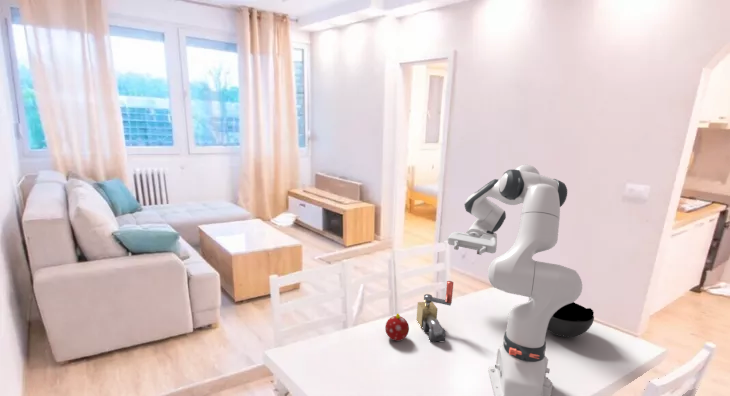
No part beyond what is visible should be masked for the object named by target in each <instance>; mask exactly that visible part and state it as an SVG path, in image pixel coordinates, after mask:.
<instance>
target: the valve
mask: <svg viewBox="0 0 730 396" xmlns="http://www.w3.org/2000/svg"><path fill="white" fill-rule="evenodd" d="M416 309H417V310H416V320H417V321H418V322H417V321H416V322H417V324H418V323H419V324H420V326H421V327H420V326H419V327H420V329H421V328H422V327H423V328H422V329H423V330H424V331H423V330H422V331H423V333H424V332H429V333H428V337H427V338H429V339H428V341H429V340H430V341H429V343H431V342H432V343H437V342H436V341H445V342H446V338H447V337H446V336H447V331H446V330H445V328H444V327H443V326H442V325H441V324H440V322H439V320H438V319H437V317H438V308H437V306H436V305H435V304H434V302H430V303H427V302H425V301H419V302H417V308H416ZM419 324H418V325H419Z"/></svg>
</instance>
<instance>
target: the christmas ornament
mask: <svg viewBox="0 0 730 396" xmlns="http://www.w3.org/2000/svg"><path fill="white" fill-rule="evenodd" d="M384 329H385V332H386V334H387V335H386V336H387V337H388V338H389V339H391V340H393V341H397V342H399V341H403V340H404V339H406V337H407V336H408V335H409V332H410V326H409V323H408V321H407V320H406V319H405V318H404V317H403V316H400V314H399V313H396V315H394V316H391V317H390V318H389V319H387V321H386V323H385V328H384Z"/></svg>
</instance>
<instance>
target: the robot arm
mask: <svg viewBox="0 0 730 396" xmlns="http://www.w3.org/2000/svg"><path fill="white" fill-rule="evenodd" d="M488 197H490V198H493V199H494V200H497V201H499V202H501V203H503V204H506V205H509V206H516V205H520V204H522V207H521V208H522V209H521V214H520V221H519V226H518V231H517V235H516V238H515V241H514V242H513V244H512V245H511V247H510V248H509V249H508V250H507V251H505V253H503V254H500V255H499V256H497V257H495V258H494V259H492V261H491V262H490V264H489V266H488V269H487V277H488V282H489V283H490V285H491V286H492V288H494V289H497V290H499V291H502V292H505V293H507V294H512V295H515V296H516V295H517V296H521V297H527V298H529V297H531V298H533V299H532V300H530V301H529V302H528V301H526V302H523V303H519V304H516V305H514V306H513V307H512V308H511V309H510V310H509V311H508V317H507V323H506V330H505V332H504V335H503V344H502V345H501V346H499V347H498V348H497V349H496V357H495V364H494V365H491V366H489V367H488V371H487V372H488V376H489V379H490V383H491V386H492V391H493V395H494V396H552V393H553V382H552V381H551V380H550V379H549V377H548V376H547V374H549V373H550V372H551V371H550V368H548V364H549V358H547V356H546V352H547V350H546V349H547V345H546V344H547V342H546V335H547V332H548V330H547V327H548V324H549V321H550V319H551V317H552V316H553V314H554V313H555V312H556V311H557V310H559V309H560V308H561V307H563V306H565V305H567V304H570V303H573V302H574V303H575V302H576V301H577V300H578V299H579V298H580V296H581V294H582V291H583V281H582V278H581V276H580V274H579V273H578V272H577V270H574V269H572V268H570V267H566V266H564V265H560V264H555V263H549V262H544V261H539V260H534V259H533V257H534V256H535V255H536V254H538V253H541V252H546V251H549V250H550V249H552V248H554V247H555V246H556V244H557V243H558V237H559V227H560V218H561V207H563V205H564V204H565V202H566V201H567V197H568V188H567V185H566V184H565V183H564V182H562V181H561V180H558V179H557V178H551V177H548V176H545V175H541V174H540V172H539V170H538V169H537V168H536V167H534V166H533V165H531V164H522V165H519V166H517V167H516V168H515V169H513V168H512V169H508V170H506V171H505V172H503V174H502V176H501V178H500V179H499V178H498V179H496V178H495V179H493V180H490V181H489V182H487V184H485V185H483V186H482V187H481V188H479V189H478V190H477V191H475V192H473V193H472V194H470V195H469V196H468V197H467V199H466V200H465V201H464V208H465V212H466V213H469V214H470V215H472V216H473V217H475V218H476V219H475V220H474V221H473V223H471V225H470V226H469V228H468V230H467V231H466V232H463V231H452V232H451V233H450V234H449V235H448V237H447V244H448V245H450V246H454V247H453V249H454V250H456V251H458V250H459V247H460V248H465V249H469V250H474V251H476V255H479V256H480V255H482V254H485V253H489V254H495V253H496V252H497V248H498V247H497V245H498V236H497V233H496V232H498V230H499V229H500V228H501V227H502V225H503V224H504V222H505V220H506V218H507V214H506V211H505V210H504V209H503V208H502V207H500V206H499V205H498V204H496V203H494V202H493V201H491V200H490V199H488Z"/></svg>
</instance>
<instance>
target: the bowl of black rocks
mask: <svg viewBox="0 0 730 396" xmlns="http://www.w3.org/2000/svg"><path fill="white" fill-rule="evenodd" d="M594 313H595V312H594V310H593V309H592V308H591V307H587V308H586V307H584V306H582V305H581V304H579V303H576V302H575V301H574V302H573V303H570V304H567V305H565V306H563V307H561V308H560V309H559V310H557V311H556V312H555V313H554V314H553V316H552V317H551V319H550V321H549V324H548V327H547V331H549V332H550V333H552V334H554V335H556V336H558V337H562V338H576V337H578V336H579V337H580V336H581V335H584V334H585V333H586V332H587V331H588V330H589V329H590V328H591V326H593V324H594V320H595V316H594Z"/></svg>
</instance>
